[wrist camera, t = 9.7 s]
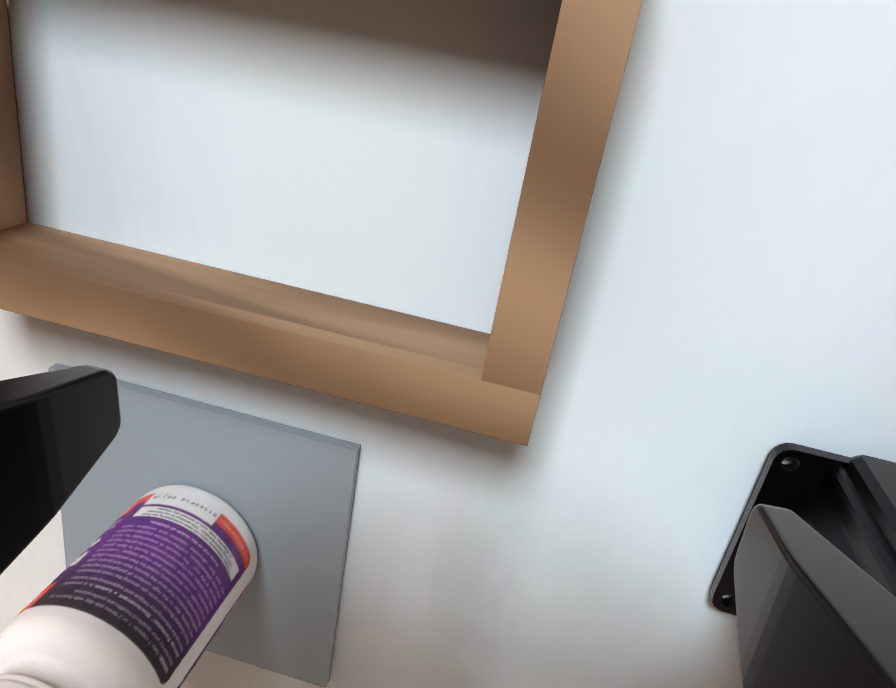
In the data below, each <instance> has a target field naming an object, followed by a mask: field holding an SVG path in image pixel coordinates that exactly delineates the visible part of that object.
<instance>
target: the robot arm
mask: <svg viewBox="0 0 896 688" xmlns="http://www.w3.org/2000/svg"><path fill="white" fill-rule="evenodd" d="M120 424H121V415H120V406H119V396H118V387H117V380H116V377H115V375H114V374H113V373H112V372H111V371H110V370H107V369H102V368H98V367H93V366H86V365H84V366H77V367H72V368H67V369H61V370H56V371H51V372H45V373H40V374H35V375H29V376H24V377H19V378H13V379H8V380H3V381H0V575H1V574H2V573H3V571H4V570H5V569H6V568H7V567H8V566H9V565H10V564H11V563H12V562H13V561H14V560H15V559H16V557H17V556H18V555H19V554H20V553H21V552H22V551H23V550H24V549H25V548H26V547H27V546H28V545H29V544H30V542H31V541H32V540H33V539H34V538H35V537H36V536H37V535H38V534H39V533H40V532H41V531H42V530H43V528H44V527H45V526H46V525H47V524H48V523H49V522H50V521H51V519H52V518H53V517H54V516H55V515H56V514H57V512H58V511H59V510H60V509H61V507H62V506H63V505H64V504H65V502H66V501H67V500H68V499H69V497H70V496H71V495H72V493H73V492H74V491H75V489H76V488H77V487H78V485H79V484H80V483H81V482H82V480H83V479H84V478H85V476H86V475H87V474H88V472H89V471H90V470H91V468H92V467H93V466H94V465H95V463H96V462H97V461H98V459H99V458H100V457H101V455H102V454H103V453H104V452H105V450H106V449H107V448H108V446H109V445H110V444H111V442H112V441H113V440H114V438H115V437H116V435H117V433H118V431H119V428H120ZM787 457H794V458H796V460H795V461H794V462H793V463H791V464H783V463H781V462H782V461H783V460H784V459H785V458H787ZM710 593H711V598H712V602H713V605H714V606H715V607H716V608H717V609H718V610H720V611H723V612H726V613H730V614H733V615H737V625H738V638H739V652H740V666H741V676H742V685H743V688H896V463H894V462H890V461H886V460H882V459H878V458H874V457H870V456H866V455H859V456H854V457H852V458H850V457H846V456H842V455H838V454H834V453H830V452H826V451H822V450H818V449H814V448H810V447H806V446H802V445H798V444H794V443H784V444H780V445H778V446H776V447H775V448H774V449H773V450H772V451H771V453H770V455H769V457H768V459H767V462H766V464H765V466H764V468H763V471H762V473H761V475H760V478H759V480H758V482H757V484H756V487H755V489H754V491H753V494H752V496H751V498H750V500H749V503H748V505H747V507H746V509H745V512H744V514H743V516H742V519H741V521H740V523H739V525H738V528H737V530H736V532H735V534H734V537H733V539H732V541H731V544H730V546H729V548H728V550H727V553H726V555H725V557H724V560H723V562H722V564H721V566H720V569H719V571H718V573H717V575H716V578H715V580H714V582H713V585H712V587H711V591H710ZM726 594H727V595H732V597H729V598H723V597H722V596H723V595H726Z"/></svg>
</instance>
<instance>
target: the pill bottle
mask: <svg viewBox="0 0 896 688" xmlns="http://www.w3.org/2000/svg"><path fill="white" fill-rule="evenodd" d="M256 566H257V548H256V544H255V541H254V538H253V535H252V533H251V531H250V529H249V527H248V525H247V524H246V522H245V521H244V520H243V518H242V517H241V516H240V515H239V514H238V512H237V511H236V510H235V509H234V508H232V507H231V506H230V505H229V504H228V503H227V502H225V501H224V500H222V499H221V498H219V497H217V496H216V495H214V494H212V493H210V492H207V491H205V490H202V489H199V488H196V487H191V486H186V485H168V486H163V487H159V488H156V489H154V490H152V491H150V492H148V493H146V494H145V495H144V496H142V497H141V498H140V499H139V500H138V501H137V502H136V503H134V504H133V505H132V506H131V507H130V508H129V509H128V510H127V511H126V512H125V513H123V514H122V515H121V516H120V517H119V518H118V519H117V520H116V521H115V522H114V523H113V524H112V525H111V526H110V527H109V528H108V529H107V530H106V531H105V532H104V533H103V534H102V535H101V536H100V537H99V538H98V539H97V540H96V541H95V542H94V543H93V544H92V545H91V546H89V547H88V548H87V549H86V550H85V551H84V552H83V553H82V554H81V555H80V556H79V557H78V558H77V559H76V560H75V561H74V562H73V563H72V564H71V565H70V566H69V567H68V568H66V569H65V570H64V571H63V572H62V573H61V574H60V575H59V576H58V577H57V578H56V579H55V580H54V581H53V582H52V583H51V584H50V585H49V586H48V587H47V588H46V589H45V590H44V591H42V592H41V593H40V594H39V595H38V596H37V597H36V598H35V599H34V600H33V601H32V602H31V603H30V604H29V605H28V606H27V607H26V608H25V609H23V610H22V611H21V612H20V613H19V614H18V615H17V616H16V617H15V618H14V619H13V621H12V622H11V623H10V624H9V625H8V626H7V627H6V628H5V629H4V631H3V632H2V633H1V635H0V688H180V687H181V685H182V684H183V682H184V681H185V679H186V678H187V676H188V675H189V673H190V672H191V670H192V669H193V667H194V666H195V664H196V663H197V661H198V660H199V658H200V657H201V655H202V654H203V652H204V651H205V649H206V648H207V646H208V645H209V643H210V642H211V640H212V639H213V638H214V636H215V635H216V633H217V632H218V630H219V629H220V627H221V626H222V624H223V623H224V621H225V620H226V618H227V617H228V615H229V614H230V612H231V611H232V610H233V608H234V607H235V605H236V603H237V602H238V600H239V599H240V597H241V596H242V594H243V593H244V591H245V590H246V588H247V586H248V585H249V583H250V581H251V579H252V577H253V575H254V573H255V570H256Z"/></svg>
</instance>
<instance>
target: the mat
mask: <svg viewBox="0 0 896 688" xmlns="http://www.w3.org/2000/svg"><path fill="white" fill-rule="evenodd" d="M67 368H72V367H68V366H64V365H60V364H57V363H56V364H55V365H53V366H51V367H49V372H51V371H56V370H61V369H67ZM117 387H118V396H119V406H120V415H121V424H120V428H119V431H118V433H117V435H116V437H115V438H114V440H113V441H112V442H111V444H110V445H109V446H108V448H107V449H106V450H105V452H104V453H103V454H102V455H101V457H100V458H99V459H98V461H97V462H96V463H95V465H94V466H93V467H92V468H91V470H90V471H89V472H88V474H87V475H86V476H85V478H84V479H83V480H82V482H81V483H80V484H79V485H78V487H77V488H76V489H75V491H74V492H73V493H72V495H71V496H70V497H69V499H68V500H67V501H66V502H65V504H64V505H63V506H62V507H61V513H62V525H63V536H64V547H65V559H66V568H68V567H69V566H70V565H71V564H72V563H73V562H74V561H75V560H76V559H77V558H78V557H79V556H80V555H81V554H82V553H83V552H84V551H85V550H86V549H87V548H88V547H89V546H91V545H92V544H93V543H94V542H95V541H96V540H97V539H98V538H99V537H100V536H101V535H102V534H103V533H104V532H105V531H106V530H107V529H108V528H109V527H110V526H111V525H112V524H113V523H114V522H115V521H116V520H117V519H118V518H119V517H120V516H121V515H122V514H123V513H125V512H126V511H127V510H128V509H129V508H130V507H131V506H132V505H133V504H134V503H136V502H137V501H138V500H139V499H140V498H141V497H142V496H144V495H145V494H146V493H148V492H150V491H152V490H154V489H156V488H159V487H163V486H168V485H186V486H191V487H196V488H199V489H202V490H205V491H207V492H210V493H212V494H214V495H216V496H217V497H219V498H221V499H222V500H224V501H225V502H227V503H228V504H229V505H230V506H231V507H232V508H234V509H235V510H236V511H237V512H238V514H239V515H240V516H241V517H242V518H243V520H244V521H245V522H246V524H247V525H248V527H249V529H250V531H251V533H252V535H253V538H254V541H255V544H256V548H257V566H256V570H255V573H254V575H253V577H252V579H251V581H250V583H249V585H248V586H247V588H246V590H245V591H244V593H243V594H242V596H241V597H240V599H239V600H238V602H237V603H236V605H235V607H234V608H233V610H232V611H231V612H230V614H229V615H228V617H227V618H226V620H225V621H224V623H223V624H222V626H221V627H220V629H219V630H218V632H217V633H216V635H215V636H214V638H213V639H212V640H211V642H210V643H209V645H208V646H207V648H206V649H205V650H208V651H211V652H214V653H218V654H221V655H224V656H227V657H230V658H233V659H236V660H240V661H243V662H246V663H249V664H252V665H255V666H259V667H262V668H265V669H268V670H271V671H274V672H277V673H281V674H284V675H287V676H290V677H293V678H296V679H299V680H303V681H306V682H309V683H312V684H315V685H318V686H322V687H326V685H327V683H328V680H329V674H330V667H331V659H332V652H333V645H334V637H335V630H336V623H337V615H338V608H339V601H340V593H341V586H342V578H343V571H344V564H345V556H346V549H347V542H348V534H349V527H350V520H351V512H352V505H353V497H354V490H355V483H356V475H357V468H358V461H359V453H360V446H361V445H358V444H354V443H350V442H347V441H343V440H339V439H335V438H332V437H328V436H324V435H321V434H317V433H313V432H309V431H306V430H302V429H298V428H295V427H291V426H287V425H283V424H280V423H276V422H272V421H269V420H265V419H261V418H257V417H254V416H250V415H246V414H243V413H239V412H235V411H231V410H228V409H224V408H220V407H217V406H213V405H209V404H205V403H202V402H198V401H194V400H191V399H187V398H183V397H179V396H176V395H172V394H168V393H165V392H161V391H157V390H153V389H150V388H146V387H142V386H139V385H135V384H131V383H127V382H124V381H120V380H117Z"/></svg>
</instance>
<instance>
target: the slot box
mask: <svg viewBox="0 0 896 688" xmlns="http://www.w3.org/2000/svg"><path fill="white" fill-rule="evenodd" d="M641 3H642V0H562V4H561V8H560V13H559V18H558V22H557V27H556V32H555V36H554V41H553V46H552V50H551V55H550V60H549V64H548V69H547V74H546V78H545V83H544V88H543V92H542V97H541V102H540V106H539V111H538V116H537V120H536V125H535V130H534V134H533V139H532V144H531V148H530V153H529V158H528V162H527V167H526V172H525V176H524V181H523V186H522V190H521V195H520V200H519V205H518V209H517V214H516V219H515V223H514V228H513V233H512V237H511V242H510V247H509V251H508V256H507V261H506V265H505V270H504V275H503V279H502V284H501V289H500V293H499V298H498V303H497V307H496V312H495V317H494V321H493V326H492V331H491V334H487V333H483V332H479V331H475V330H471V329H466V328H462V327H458V326H454V325H450V324H446V323H442V322H438V321H433V320H429V319H425V318H421V317H417V316H413V315H409V314H404V313H400V312H396V311H392V310H388V309H384V308H380V307H376V306H371V305H367V304H363V303H359V302H355V301H351V300H347V299H342V298H338V297H334V296H330V295H326V294H322V293H318V292H313V291H309V290H305V289H301V288H297V287H293V286H289V285H285V284H280V283H276V282H272V281H268V280H264V279H260V278H256V277H251V276H247V275H243V274H239V273H235V272H231V271H227V270H223V269H218V268H214V267H210V266H206V265H202V264H198V263H194V262H189V261H185V260H181V259H177V258H173V257H169V256H165V255H161V254H156V253H152V252H148V251H144V250H140V249H136V248H132V247H127V246H123V245H119V244H115V243H111V242H107V241H103V240H98V239H94V238H90V237H86V236H82V235H78V234H74V233H70V232H65V231H61V230H57V229H53V228H49V227H45V226H41V225H36V224H32V223H28V222H27V216H26V205H25V195H24V184H23V173H22V163H21V152H20V141H19V131H18V120H17V109H16V99H15V88H14V77H13V67H12V56H11V45H10V35H9V24H8V13H7V3H6V0H0V309H3V310H7V311H11V312H15V313H19V314H22V315H26V316H30V317H34V318H38V319H42V320H45V321H49V322H53V323H57V324H61V325H65V326H68V327H72V328H76V329H80V330H84V331H88V332H91V333H95V334H99V335H103V336H107V337H111V338H114V339H118V340H122V341H126V342H130V343H134V344H137V345H141V346H145V347H149V348H153V349H157V350H160V351H164V352H168V353H172V354H176V355H180V356H183V357H187V358H191V359H195V360H199V361H203V362H206V363H210V364H214V365H218V366H222V367H226V368H229V369H233V370H237V371H241V372H245V373H249V374H252V375H256V376H260V377H264V378H268V379H272V380H275V381H279V382H283V383H287V384H291V385H295V386H298V387H302V388H306V389H310V390H314V391H318V392H321V393H325V394H329V395H333V396H337V397H341V398H344V399H348V400H352V401H356V402H360V403H364V404H367V405H371V406H375V407H379V408H383V409H387V410H390V411H394V412H398V413H402V414H406V415H410V416H413V417H417V418H421V419H425V420H429V421H433V422H436V423H440V424H444V425H448V426H452V427H456V428H459V429H463V430H467V431H471V432H475V433H479V434H482V435H486V436H490V437H494V438H498V439H502V440H505V441H509V442H513V443H517V444H521V445H524V446H527V445H528V441H529V437H530V433H531V429H532V425H533V422H534V418H535V414H536V410H537V406H538V402H539V398H540V394H541V391H542V387H543V383H544V379H545V375H546V371H547V367H548V363H549V360H550V356H551V352H552V348H553V344H554V340H555V336H556V332H557V329H558V325H559V321H560V317H561V313H562V309H563V305H564V302H565V298H566V294H567V290H568V286H569V282H570V278H571V274H572V271H573V267H574V263H575V259H576V255H577V251H578V247H579V243H580V240H581V236H582V232H583V228H584V224H585V220H586V216H587V212H588V209H589V205H590V201H591V197H592V193H593V189H594V185H595V181H596V178H597V174H598V170H599V166H600V162H601V158H602V154H603V151H604V147H605V143H606V139H607V135H608V131H609V127H610V123H611V120H612V116H613V112H614V108H615V104H616V100H617V96H618V92H619V89H620V85H621V81H622V77H623V73H624V69H625V65H626V61H627V58H628V54H629V50H630V46H631V42H632V38H633V34H634V31H635V27H636V23H637V19H638V15H639V11H640V7H641Z"/></svg>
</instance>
